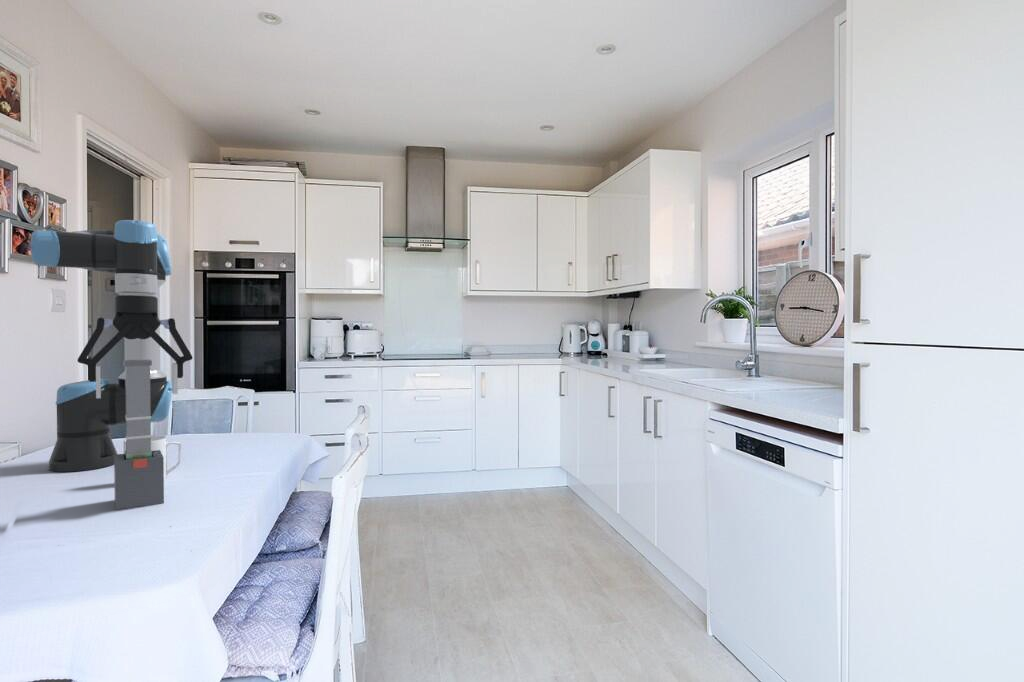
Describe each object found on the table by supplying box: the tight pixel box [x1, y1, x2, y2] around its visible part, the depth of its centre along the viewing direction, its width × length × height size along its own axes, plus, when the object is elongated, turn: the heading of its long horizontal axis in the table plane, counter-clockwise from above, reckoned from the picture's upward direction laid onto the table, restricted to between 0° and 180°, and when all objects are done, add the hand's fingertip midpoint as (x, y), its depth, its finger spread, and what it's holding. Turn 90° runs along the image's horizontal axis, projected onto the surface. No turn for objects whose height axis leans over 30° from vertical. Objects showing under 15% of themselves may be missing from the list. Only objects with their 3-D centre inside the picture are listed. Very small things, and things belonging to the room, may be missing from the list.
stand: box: [113, 450, 165, 512], centre depth 122 cm, size 12×16×11 cm
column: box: [122, 359, 152, 460], centre depth 122 cm, size 5×5×22 cm
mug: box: [123, 434, 182, 480], centre depth 141 cm, size 12×9×11 cm
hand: (137, 395), depth 122 cm, fingers open, 13 cm apart
